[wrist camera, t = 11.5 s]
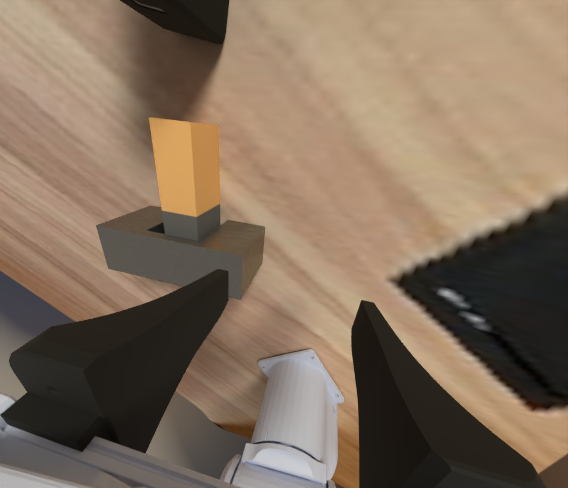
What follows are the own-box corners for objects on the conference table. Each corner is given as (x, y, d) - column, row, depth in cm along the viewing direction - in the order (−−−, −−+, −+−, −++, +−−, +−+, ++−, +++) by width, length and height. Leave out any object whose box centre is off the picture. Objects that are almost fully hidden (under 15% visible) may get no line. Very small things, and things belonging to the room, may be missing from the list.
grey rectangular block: (262, 263, 23) (240, 299, 17) (156, 241, 24) (108, 268, 19) (265, 227, 21) (242, 255, 16) (150, 205, 22) (96, 225, 17)
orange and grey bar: (220, 262, 24) (201, 284, 20) (195, 257, 24) (171, 277, 21) (218, 125, 18) (190, 122, 14) (184, 121, 18) (148, 117, 15)
